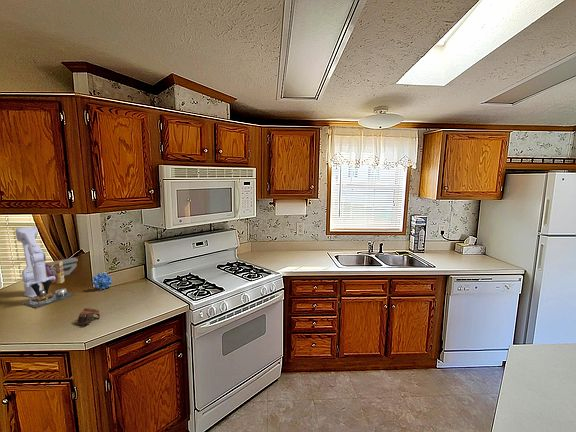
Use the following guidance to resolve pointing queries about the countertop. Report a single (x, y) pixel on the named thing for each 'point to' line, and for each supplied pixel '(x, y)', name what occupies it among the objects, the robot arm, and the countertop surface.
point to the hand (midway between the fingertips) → (42, 294)
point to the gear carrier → (50, 298)
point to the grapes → (102, 281)
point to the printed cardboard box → (67, 265)
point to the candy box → (55, 272)
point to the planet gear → (42, 296)
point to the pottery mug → (87, 316)
